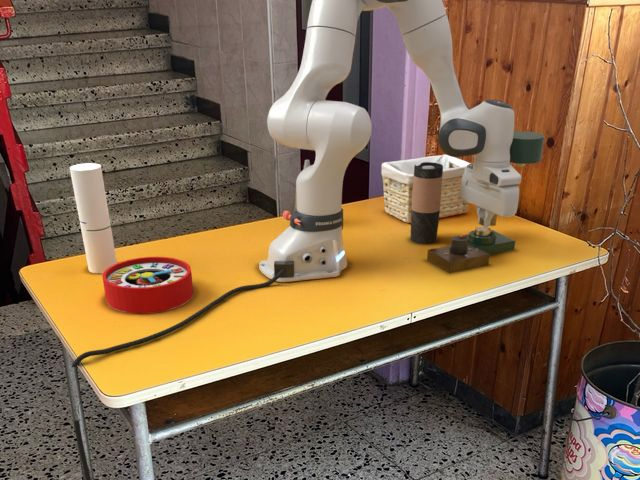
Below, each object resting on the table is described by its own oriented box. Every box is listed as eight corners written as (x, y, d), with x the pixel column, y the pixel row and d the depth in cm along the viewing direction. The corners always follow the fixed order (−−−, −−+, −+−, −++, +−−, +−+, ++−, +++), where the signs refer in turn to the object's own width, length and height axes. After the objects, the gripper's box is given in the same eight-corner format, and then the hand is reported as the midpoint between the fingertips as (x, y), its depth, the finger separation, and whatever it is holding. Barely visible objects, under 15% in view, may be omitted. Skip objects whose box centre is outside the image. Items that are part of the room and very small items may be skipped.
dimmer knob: (460, 256, 184) (461, 241, 182) (446, 251, 186) (447, 237, 184) (470, 251, 186) (472, 237, 184) (456, 247, 189) (458, 233, 187)
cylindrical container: (103, 261, 191) (85, 161, 177) (123, 266, 188) (107, 165, 174) (82, 270, 186) (63, 168, 172) (103, 275, 182) (84, 172, 169)
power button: (480, 238, 191) (481, 232, 190) (471, 234, 194) (472, 227, 193) (493, 236, 193) (494, 229, 192) (483, 232, 196) (484, 225, 195)
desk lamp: (501, 230, 196) (512, 142, 183) (478, 220, 203) (488, 134, 191) (539, 223, 200) (553, 136, 188) (515, 213, 208) (527, 129, 196)
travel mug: (438, 244, 200) (445, 169, 189) (410, 244, 200) (415, 169, 189) (435, 235, 206) (441, 162, 195) (408, 235, 206) (412, 162, 195)
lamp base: (477, 257, 191) (479, 240, 189) (455, 246, 199) (456, 229, 196) (514, 250, 196) (516, 233, 193) (491, 239, 203) (493, 223, 201)
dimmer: (449, 273, 182) (450, 261, 180) (426, 260, 190) (427, 249, 188) (488, 265, 186) (489, 253, 185) (465, 253, 194) (466, 241, 192)
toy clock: (91, 266, 171) (173, 251, 180) (96, 289, 175) (176, 274, 183) (116, 295, 157) (204, 277, 165) (121, 320, 160) (206, 301, 168)
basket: (404, 226, 214) (407, 174, 206) (377, 211, 226) (379, 161, 218) (472, 214, 222) (478, 164, 214) (442, 201, 235) (446, 153, 226)
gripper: (456, 163, 191) (451, 216, 198) (505, 181, 175) (497, 238, 183) (476, 160, 193) (470, 213, 200) (526, 178, 177) (518, 234, 185)
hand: (483, 225), depth 191 cm, fingers closed
